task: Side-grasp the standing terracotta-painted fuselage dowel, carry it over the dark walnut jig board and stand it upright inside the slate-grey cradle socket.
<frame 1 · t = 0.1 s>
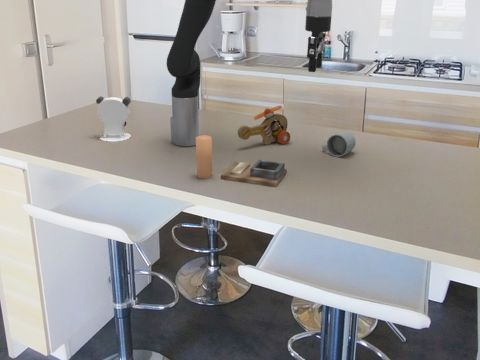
hand: (314, 69, 151), 29 cm above the countertop, tool pointing down, fingers open, 8 cm apart
jig: (254, 175, 147), on the countertop
ceramic mug: (336, 153, 167), on the countertop
fuselage dowel: (204, 175, 146), on the countertop
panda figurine: (116, 138, 181), on the countertop
toy helicopter: (265, 144, 175), on the countertop
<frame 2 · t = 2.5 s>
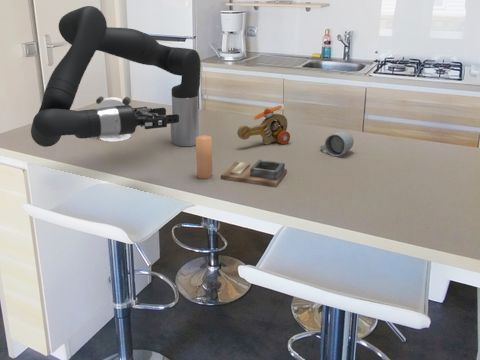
hand: (171, 114, 133), 20 cm above the countertop, tool horizontal, fingers open, 8 cm apart
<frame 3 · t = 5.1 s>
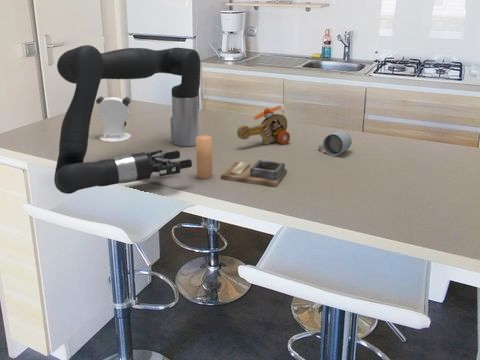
hand: (185, 158, 141), 7 cm above the countertop, tool horizontal, fingers open, 8 cm apart
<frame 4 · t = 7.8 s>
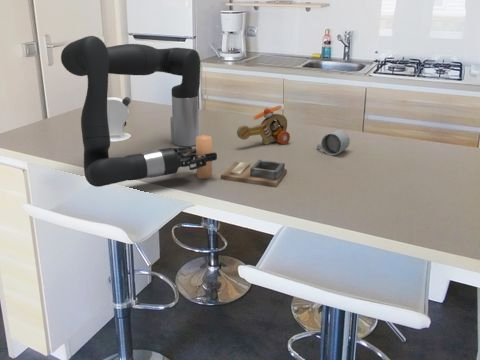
hand: (212, 153, 145), 7 cm above the countertop, tool horizontal, fingers closed on fuselage dowel, 4 cm apart
fuselage dowel: (204, 175, 146), on the countertop, touching gripper
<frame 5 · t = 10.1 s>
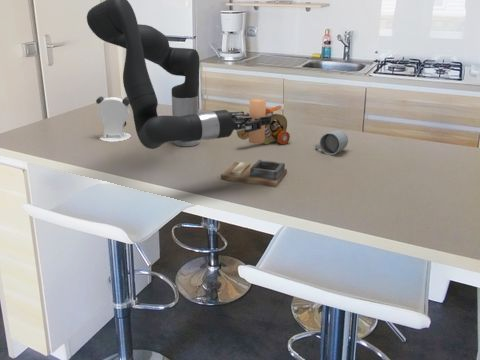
hand: (265, 118, 140), 18 cm above the countertop, tool horizontal, fingers closed on fuselage dowel, 4 cm apart
fuselage dowel: (256, 141, 141), point 11 cm above the countertop, touching gripper
when the fingers open (9 cm above the countertop, at t = 12.9 s): fuselage dowel stays where it is, resting on jig.
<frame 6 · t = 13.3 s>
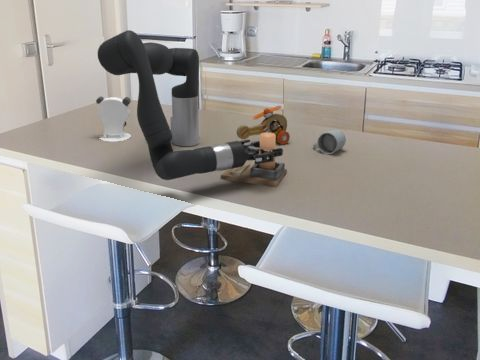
hand: (273, 147, 144), 9 cm above the countertop, tool horizontal, fingers open, 8 cm apart
fuselage dowel: (267, 173, 145), point 1 cm above the countertop, touching jig
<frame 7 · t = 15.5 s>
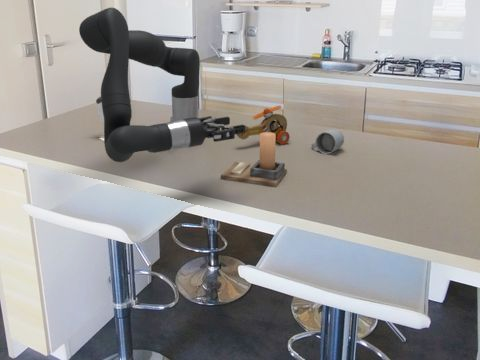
hand: (236, 124, 134), 18 cm above the countertop, tool horizontal, fingers open, 8 cm apart
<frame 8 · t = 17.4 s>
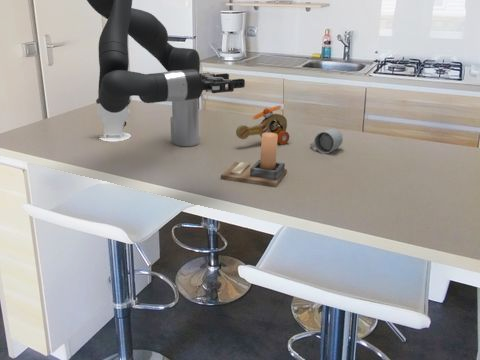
hand: (235, 80, 129), 30 cm above the countertop, tool horizontal, fingers open, 8 cm apart
at the end: fuselage dowel 0.1 cm from the target spot on the jig, point 1.3 cm above the jig's base; fuselage dowel tilted 2°; the gripper is holding nothing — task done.
